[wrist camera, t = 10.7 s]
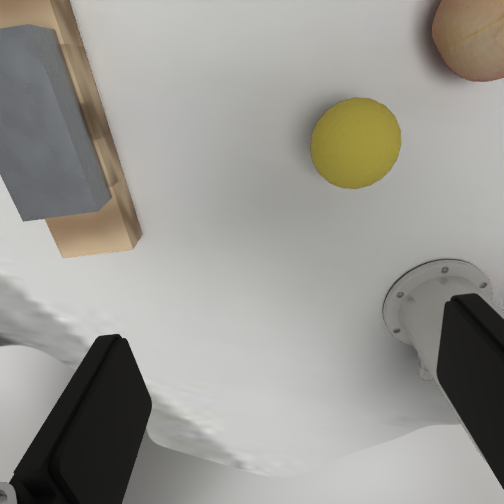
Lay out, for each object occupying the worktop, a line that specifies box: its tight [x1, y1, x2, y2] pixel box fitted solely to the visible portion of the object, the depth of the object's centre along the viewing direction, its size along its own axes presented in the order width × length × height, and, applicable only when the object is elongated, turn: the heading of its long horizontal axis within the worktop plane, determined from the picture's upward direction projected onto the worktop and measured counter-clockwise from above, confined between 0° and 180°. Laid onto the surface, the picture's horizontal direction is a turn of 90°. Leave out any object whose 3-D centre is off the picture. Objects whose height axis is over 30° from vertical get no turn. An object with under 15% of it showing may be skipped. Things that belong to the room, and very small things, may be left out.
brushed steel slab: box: [0, 24, 112, 221], centre depth 28 cm, size 13×6×6 cm, turn 7°
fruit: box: [432, 0, 504, 82], centre depth 25 cm, size 8×8×8 cm
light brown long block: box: [0, 0, 142, 258], centre depth 30 cm, size 24×7×4 cm, turn 7°
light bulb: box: [310, 98, 401, 189], centre depth 28 cm, size 7×7×10 cm
